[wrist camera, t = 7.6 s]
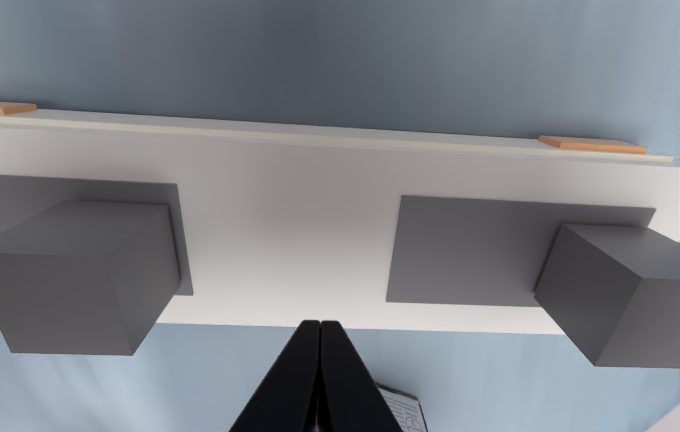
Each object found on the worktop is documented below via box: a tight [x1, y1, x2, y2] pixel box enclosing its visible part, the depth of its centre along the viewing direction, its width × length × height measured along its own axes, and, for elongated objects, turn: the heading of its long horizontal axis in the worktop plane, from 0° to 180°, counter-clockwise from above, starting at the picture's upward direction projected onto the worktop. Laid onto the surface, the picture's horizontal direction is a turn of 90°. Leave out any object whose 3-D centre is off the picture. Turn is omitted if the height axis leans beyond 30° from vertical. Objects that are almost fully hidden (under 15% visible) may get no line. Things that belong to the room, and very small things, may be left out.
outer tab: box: [533, 224, 680, 368], centre depth 10 cm, size 3×3×3 cm
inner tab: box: [0, 200, 181, 356], centre depth 9 cm, size 3×3×3 cm
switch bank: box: [0, 102, 680, 334], centre depth 12 cm, size 7×27×3 cm, turn 86°
